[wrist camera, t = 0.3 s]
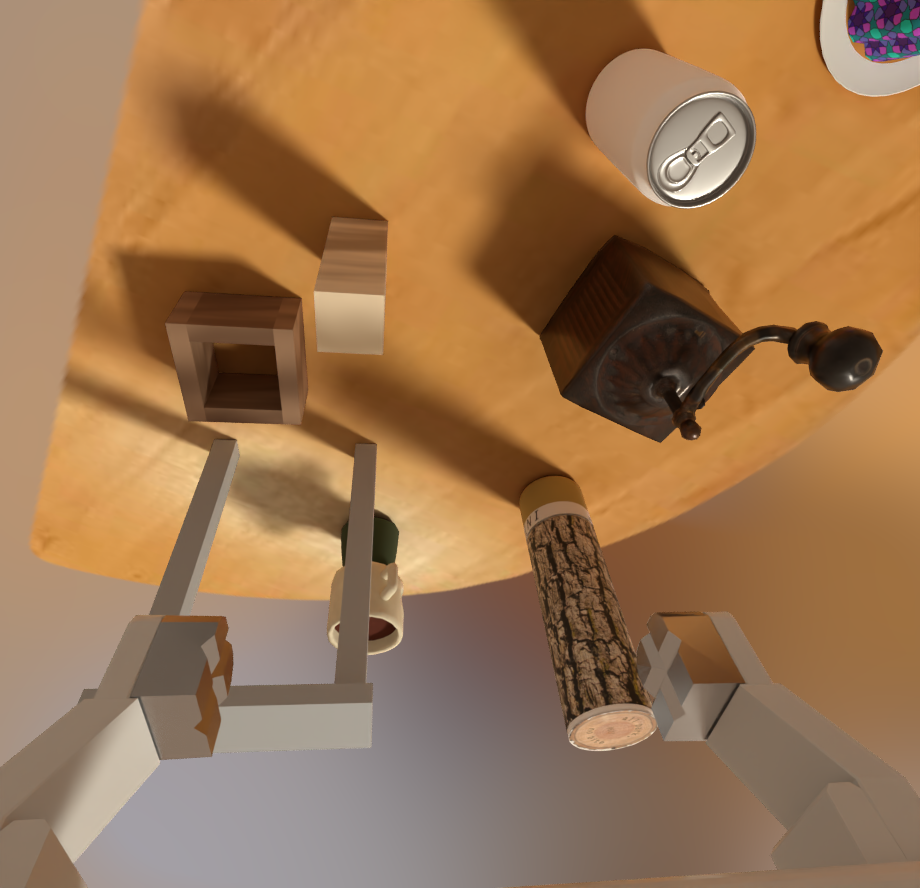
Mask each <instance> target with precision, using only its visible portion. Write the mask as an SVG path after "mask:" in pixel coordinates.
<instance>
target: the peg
mask: <svg viewBox="0 0 920 888" xmlns="http://www.w3.org/2000/svg"><path fill="white" fill-rule="evenodd" d="M387 231H388V221H382V220H369V219H356V218H343V217H332V220H331V224H330V228H329V232H328V236H327V240H326V244H325V248H324V252H323V256H322V260H321V264H320V268H319V272H318V276H317V280H316V285H315V289H314V302H315V320H316V337H317V352H334V353H355V354H375V355H383V344H384V319H385V295H386V269H387Z"/></svg>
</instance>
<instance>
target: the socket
mask: <svg viewBox="0 0 920 888" xmlns="http://www.w3.org/2000/svg"><path fill="white" fill-rule="evenodd" d="M165 325H166V329H167V334H168V338H169V342H170V346H171V350H172V354H173V358H174V363H175V367H176V371H177V375H178V379H179V383H180V387H181V392H182V396H183V400H184V404H185V408H186V412H187V416H188V421H202V422H232V423H262V424H292V425H301V422H302V418H303V413H304V408H305V403H306V398H307V393H308V380H307V366H306V353H305V339H304V325H303V312H302V298H287V297H270V296H254V295H237V294H220V293H203V292H187V291H185V292H184V293H183V295H182V296H181V298H180V300H179V301H178V303H177V305H176V306H175V308H174V309H173V311H172V313H171V314H170V316H169V317H168V319H167V321H166V322H165ZM213 343H230V344H250V345H270V346H275V352H276V361H277V370H278V375H261V374H238V373H219V372H218V367H217V361H216V356H215V351H214V345H213Z"/></svg>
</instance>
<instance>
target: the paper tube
mask: <svg viewBox="0 0 920 888" xmlns="http://www.w3.org/2000/svg"><path fill="white" fill-rule="evenodd" d="M519 506H520V511H521V516H522V521H523V525H524V531H525V536H526V541H527V545H528V550H529V555H530V560H531V564H532V569H533V573H534V578H535V583H536V588H537V592H538V597H539V602H540V607H541V612H542V616H543V621H544V626H545V630H546V635H547V640H548V644H549V649H550V653H551V659H552V664H553V668H554V672H555V678H556V683H557V687H558V692H559V697H560V701H561V706H562V711H563V715H564V720H565V725H566V730H567V733H568V736H569V741H570V743H572V745H574V746H576V747H578V748H581V749H585V750H592V751H605V750H614V749H619V748H623V747H627V746H630V745H633V744H636V743H638V742H640V741H642V740H644V739H646V738H647V737H649V736H650V735H651V734H652V733H654V731H655V730H656V728H657V726H658V725H657V722H656V720H655V717H654V715H653V712H652V709H651V707H652V702H651V699H650V696H649V693H648V691H647V690H645V689H644V688H643V686H642V683H641V680H640V678H639V674H638V669H637V657H636V654H635V651H634V648H633V645H632V642H631V639H630V636H629V633H628V630H627V627H626V624H625V621H624V618H623V615H622V612H621V609H620V606H619V603H618V600H617V597H616V594H615V591H614V588H613V584H612V581H611V578H610V575H609V573H608V570H607V566H606V564H605V560H604V558H603V555H602V551H601V548H600V545H599V542H598V539H597V536H596V533H595V530H594V527H593V524H592V521H591V518H590V515H589V513H588V510H587V507H586V504H585V501H584V498H583V495H582V492H581V489H580V487H579V486H578V485H577V484H576V483H575V482H574V481H572V480H571V479H569V478H566V477H563V476H547V477H543V478H540V479H537V480H535V481H534V482H532V483H531V484H529V485H528V486H527V487H526V488H525V489H524V491H523V492H522V494H521V496H520V500H519Z"/></svg>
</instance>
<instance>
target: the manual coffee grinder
mask: <svg viewBox="0 0 920 888" xmlns="http://www.w3.org/2000/svg"><path fill="white" fill-rule="evenodd" d="M540 340H541V341H542V344H543V347H544V350H545V352H546V355H547V358H548V361H549V364H550V367H551V369H552V372H553V375H554V377H555V380H556V383H557V385H558V388H559V391H560V394H561V395H562V397H564V398H565V399H567V400H569V401H571V402H573V403H575V404H577V405H579V406H581V407H582V408H585V409H587V410H589V411H591V412H594V413H596V414H598V415H600V416H602V417H605V418H607V419H609V420H611V421H613V422H615V423H617V424H619V425H621V426H624V427H626V428H628V429H630V430H632V431H634V432H636V433H639V434H641V435H643V436H645V437H648V438H650V439H652V440H655V441H657V442H660V443H661V442H662V441H663V440H664V439H665V438H666V437H667V436H668V435H669V434H670V433H671V432H673V431H674V430H675V429H676V428H679V429H680V432H681V435H682V437H683V438H684V439H686V440H695V439H697V438H698V437H699V436H700V433H701V427H700V426H699V425H698V424H697V423H696V422H695V420H696V417H695V411H696V410H697V409H701V408H703V407H704V406H705V403H706V402H707V401H708V400H709V398H710V397H711V396H712V395H713V393H714V392H715V391H716V389H717V388H718V386H719V385H720V384H721V383H722V382H723V381H724V380H725V379H726V378H727V377H728V376H729V375H730V374H731V373H732V372H733V371H734V370H735V369H736V368H737V367H738V366H739V365H740V364H741V363H742V362H743V361H744V360H745V359H746V358H747V357H748V356H749V354H750V353H751V352H752V351H753V350H754V349H755V348H754V346H753V345H756V344H758V343H761V342H766V341H775V342H780V343H786V344H788V354H789V357H790V358H791V359H792V360H793V361H794V362H795V363H796V364H809V371H810V375H811V376H812V377H813V378H814V379H815V380H816V381H817V382H818V383H820V384H821V385H822V386H823V387H825V388H826V389H827V390H830V391H836V392H841V391H847V390H854V389H856V388H857V387H858V386H860V385H861V384H862V383H863V382H865V381H866V380H867V379H869V378H870V377H871V376H873V375H874V373H875V370H876V368H877V365H878V363H879V360H880V357H881V355H882V352H883V350H882V349H881V347H880V345H879V344H878V342H877V340H876V338H875V337H874V335H873V333H872V332H869V331H866V330H863V329H859V328H854V327H849V326H847V327H843V328H840V329H837V330H834V331H832V332H831V331H830V330H829V329H828V326H827V325H826V324H824V323H821V322H818V321H815V322H810V323H806V324H804V325H803V326H802V327H800V328H799V329H798V330H797V329H795V328H792V327H785V326H778V325H769V326H761V327H757V328H755V329H752V330H750V331H747V332H745V333H742V332H741V331H740V330H739V329H738V328H737V327H736V325H735V324H734V323H733V322H732V321H731V320H730V319H729V318H728V316H727V315H726V314H725V313H724V312H723V311H722V310H721V309H720V308H719V306H718V305H717V304H716V302H715V301H714V300H713V298H712V297H711V296H710V293H709V290H707V289H706V288H705V287H703V286H702V285H701V284H699V283H698V282H697V281H695V280H694V279H693V278H691V277H690V276H689V275H688V274H686V273H685V272H683V271H682V270H680V269H678V268H677V267H675V266H674V265H672V264H671V263H669V262H667V261H666V260H664V259H662V258H661V257H659V256H658V255H656V254H654V253H653V252H651V251H649V250H648V249H646V248H644V247H642V246H640V245H637V244H635V243H632V242H630V241H627V240H625V239H622V238H620V237H618V236H616V235H614V236H613V237H612V238H611V239H610V240H609V241H608V242H607V243H606V244H605V245H604V246H603V247H602V248H601V249H600V250H599V251H598V253H597V254H596V255H595V257H594V258H593V259H592V261H591V262H590V263H589V265H588V266H587V268H586V269H585V270H584V272H583V273H582V274H581V276H580V277H579V279H578V280H577V281H576V283H575V284H574V286H573V287H572V288H571V290H570V291H569V293H568V294H567V295H566V297H565V298H564V300H563V301H562V303H561V304H560V306H559V307H558V309H557V311H556V312H555V314H554V315H553V317H552V318H551V320H550V321H549V323H548V324H547V326H546V327H545V329H544V330H543V332H542V333H541V335H540Z"/></svg>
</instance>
